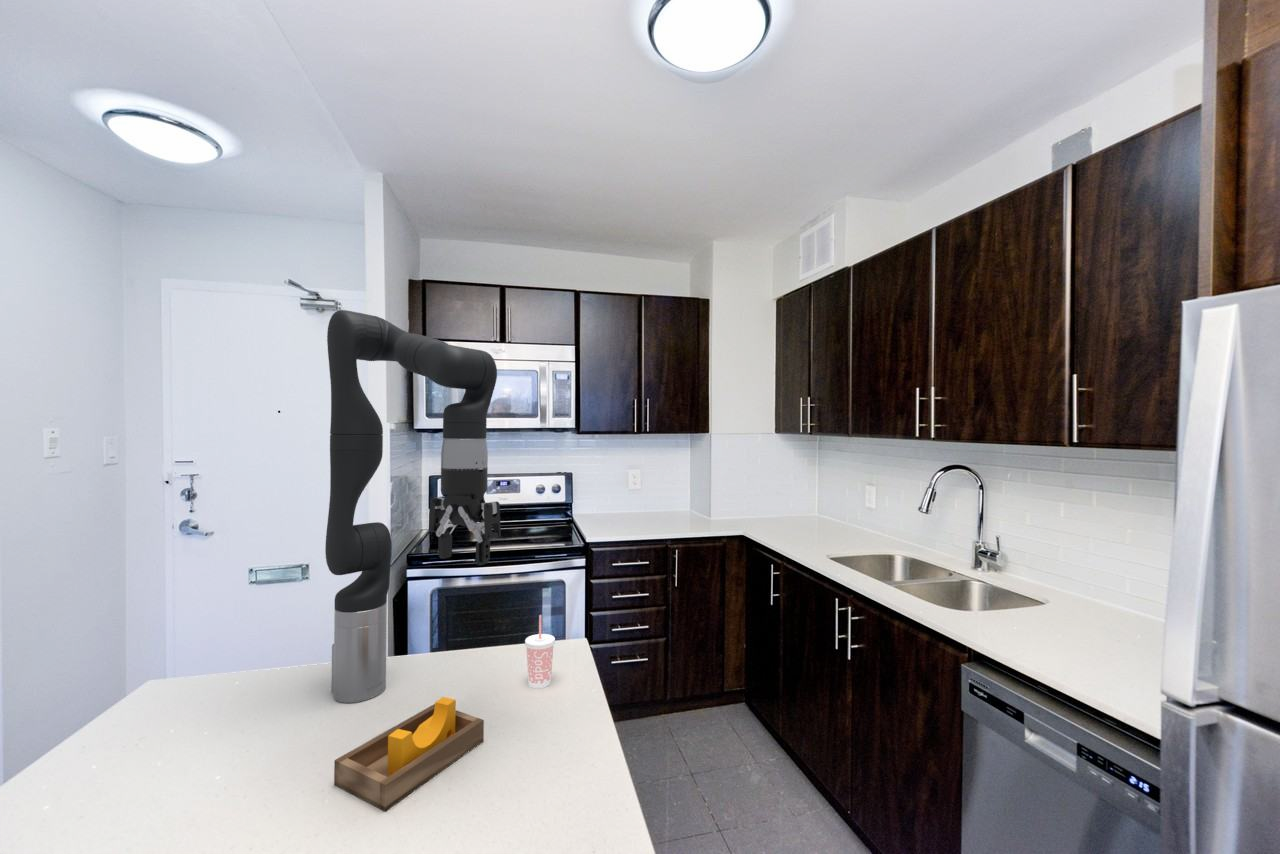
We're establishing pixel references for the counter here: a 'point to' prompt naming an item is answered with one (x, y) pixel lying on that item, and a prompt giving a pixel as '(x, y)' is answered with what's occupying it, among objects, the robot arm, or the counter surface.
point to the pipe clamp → (421, 736)
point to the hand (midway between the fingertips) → (463, 560)
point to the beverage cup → (539, 658)
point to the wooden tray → (369, 766)
